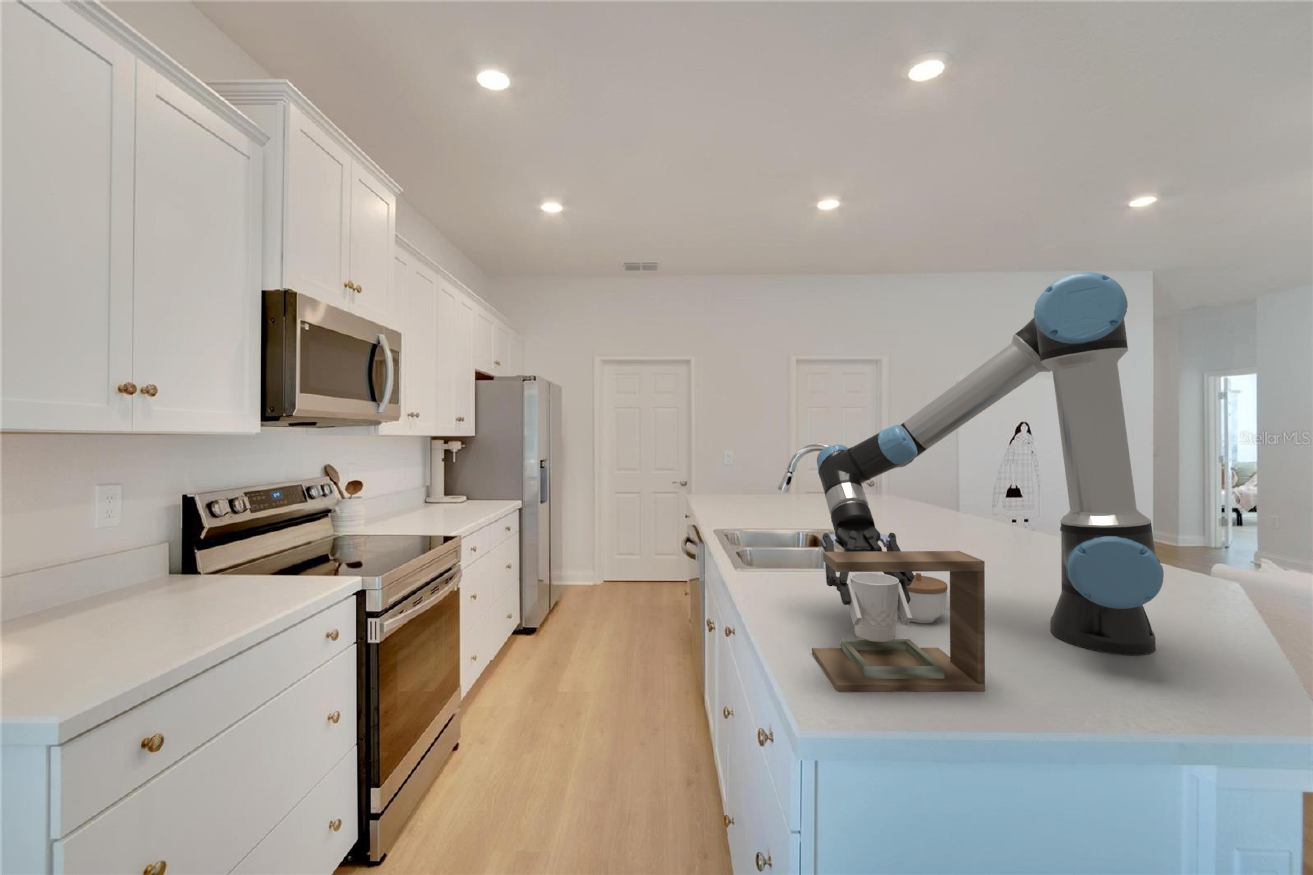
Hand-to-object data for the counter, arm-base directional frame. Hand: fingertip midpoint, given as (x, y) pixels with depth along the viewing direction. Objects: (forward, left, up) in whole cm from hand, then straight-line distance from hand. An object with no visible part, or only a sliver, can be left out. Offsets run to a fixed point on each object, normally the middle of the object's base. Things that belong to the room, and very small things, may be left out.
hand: (882, 621), depth 92 cm
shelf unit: (0, +3, -7) cm, 8 cm away
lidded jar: (-16, -22, -7) cm, 28 cm away
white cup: (0, -3, -4) cm, 5 cm away
